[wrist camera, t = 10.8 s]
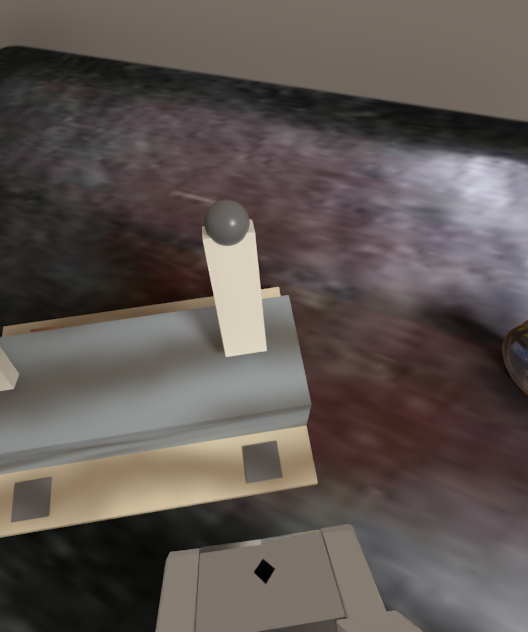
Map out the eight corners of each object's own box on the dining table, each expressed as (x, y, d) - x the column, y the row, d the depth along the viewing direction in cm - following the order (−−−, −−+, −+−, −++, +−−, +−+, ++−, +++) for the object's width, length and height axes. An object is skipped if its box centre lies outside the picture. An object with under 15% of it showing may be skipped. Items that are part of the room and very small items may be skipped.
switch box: (316, 484, 36) (325, 470, 29) (-17, 540, 34) (-82, 537, 28) (278, 292, 44) (279, 249, 38) (9, 331, 43) (-37, 293, 36)
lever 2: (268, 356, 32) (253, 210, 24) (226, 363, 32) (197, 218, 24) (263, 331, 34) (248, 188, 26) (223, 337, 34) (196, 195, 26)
